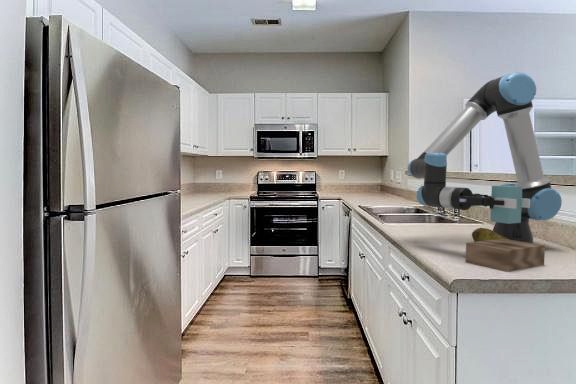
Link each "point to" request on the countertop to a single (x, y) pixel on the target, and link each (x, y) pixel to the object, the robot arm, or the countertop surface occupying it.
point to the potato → (485, 235)
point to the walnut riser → (505, 254)
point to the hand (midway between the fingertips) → (522, 203)
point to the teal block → (507, 213)
